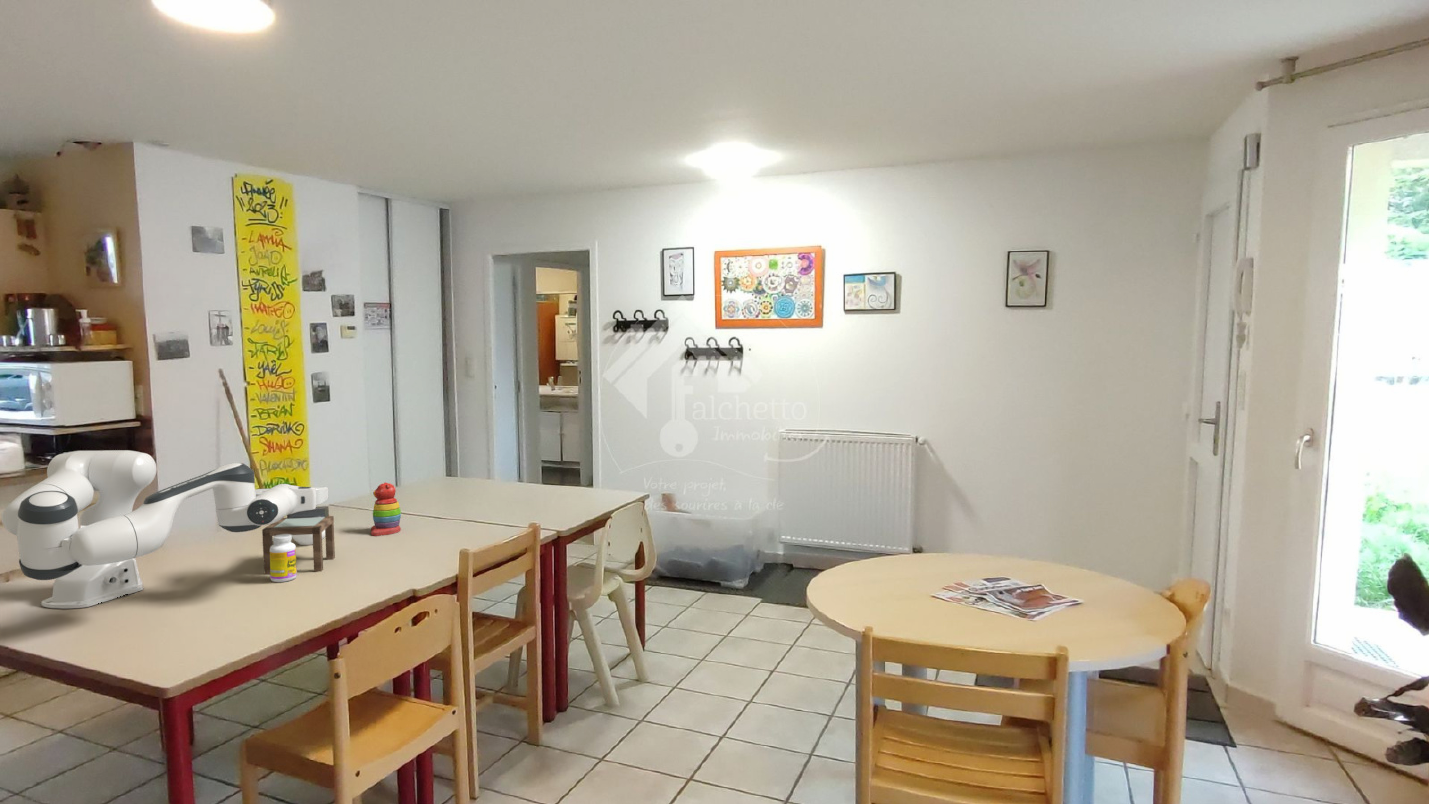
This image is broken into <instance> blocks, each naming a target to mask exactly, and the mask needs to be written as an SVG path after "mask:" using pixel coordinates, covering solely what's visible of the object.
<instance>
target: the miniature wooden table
mask: <svg viewBox="0 0 1429 804" xmlns="http://www.w3.org/2000/svg"><path fill="white" fill-rule="evenodd" d="M286 518H287V517H284V518H282V519H281V520H279V521H277V522H275V523H272V524H269V525H266V527H264V528H262V530H261V531H262V532H261V534H262V552H263V553H262V555H263V572H264V573H263V574H264V575H270V547H271V546H272V545H274V541H273V537H274V536H276V535H280V534H291V535H307V534H313V545H312V552H313V553H312V554H313V555H312V556H313V573H317V572H318V571H320V572H322V571H323V570H324V557H323V556H324V555H323V540H322V532H323V531H324V530H325V538H324V539H325V558H326V559H325V560H327V561H328V560H334V559H335V558H336V554H335V553H336V551H335V549H336V548H335V527H334V526H335V525H334V522H335V520H334V518H335V517H334V515H330V516H326V517H325V518H324V519H323V520H321V521H320V522H319V523H318V524H316V525H315V526H303V527H279V528H274V527H275V526H277V525H278V524H279V523H281V522H282V521H284V520H285V519H286ZM318 573H319V572H318Z"/></svg>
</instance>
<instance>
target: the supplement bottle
mask: <svg viewBox="0 0 1429 804" xmlns="http://www.w3.org/2000/svg"><path fill="white" fill-rule="evenodd" d="M272 537H273V545H272V546H271V547H270V574H269V575H270V581H272V582H274V583H284V582H285V583H286V582H289V581H293V580H295V579H296V578H297V575H298V574H297V573H298V572H297V551H296V550H297V547H296V544H295V543H294V542H292V540H293V538H292V535H291V534H280V535H276V536H272Z"/></svg>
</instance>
